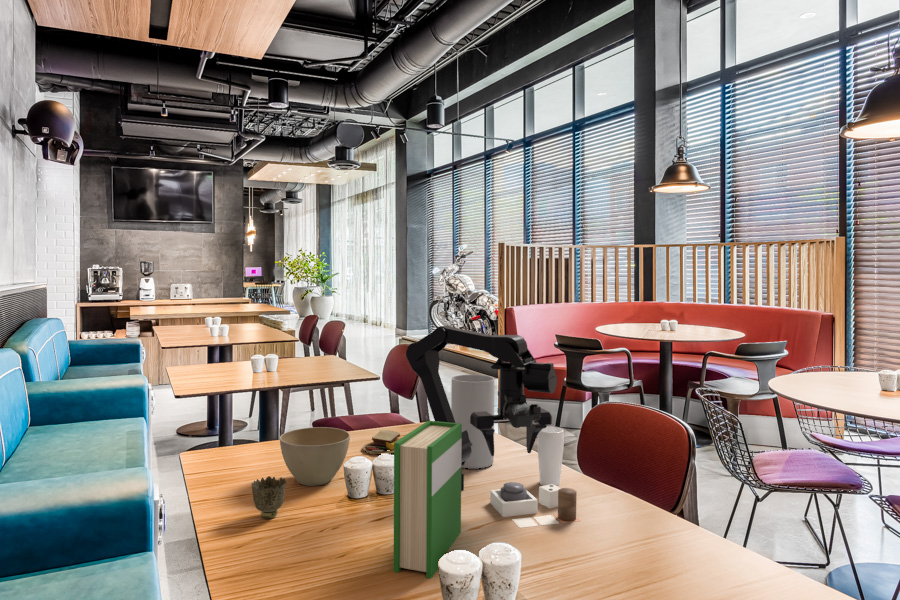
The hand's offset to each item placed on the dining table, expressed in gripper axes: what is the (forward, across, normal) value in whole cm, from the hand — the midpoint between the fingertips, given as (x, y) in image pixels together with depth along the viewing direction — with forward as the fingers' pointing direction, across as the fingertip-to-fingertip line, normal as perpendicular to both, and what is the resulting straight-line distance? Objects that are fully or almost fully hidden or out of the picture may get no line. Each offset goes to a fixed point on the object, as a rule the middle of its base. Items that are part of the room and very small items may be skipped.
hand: (510, 454), depth 137 cm
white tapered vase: (+13, +15, +10) cm, 22 cm away
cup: (+13, -55, +8) cm, 57 cm away
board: (+12, +4, -7) cm, 15 cm away
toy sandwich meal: (+13, -22, +53) cm, 59 cm away
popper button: (+11, -1, -3) cm, 12 cm away
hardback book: (+13, -24, -18) cm, 33 cm away
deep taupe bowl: (+13, -44, +29) cm, 54 cm away
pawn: (+12, +9, -12) cm, 19 cm away
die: (+12, +9, -3) cm, 15 cm away
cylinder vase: (+13, +1, +33) cm, 35 cm away
